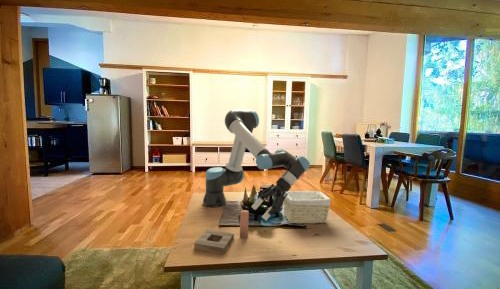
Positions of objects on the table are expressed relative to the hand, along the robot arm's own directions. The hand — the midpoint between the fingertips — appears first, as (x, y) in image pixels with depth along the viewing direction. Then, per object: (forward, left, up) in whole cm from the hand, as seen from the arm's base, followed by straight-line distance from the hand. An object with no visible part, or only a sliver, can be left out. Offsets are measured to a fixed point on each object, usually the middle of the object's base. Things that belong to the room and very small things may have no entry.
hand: (258, 213), depth 130 cm
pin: (+3, -6, -12) cm, 14 cm away
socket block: (+14, -17, -12) cm, 25 cm away
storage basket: (-28, +22, -12) cm, 38 cm away
